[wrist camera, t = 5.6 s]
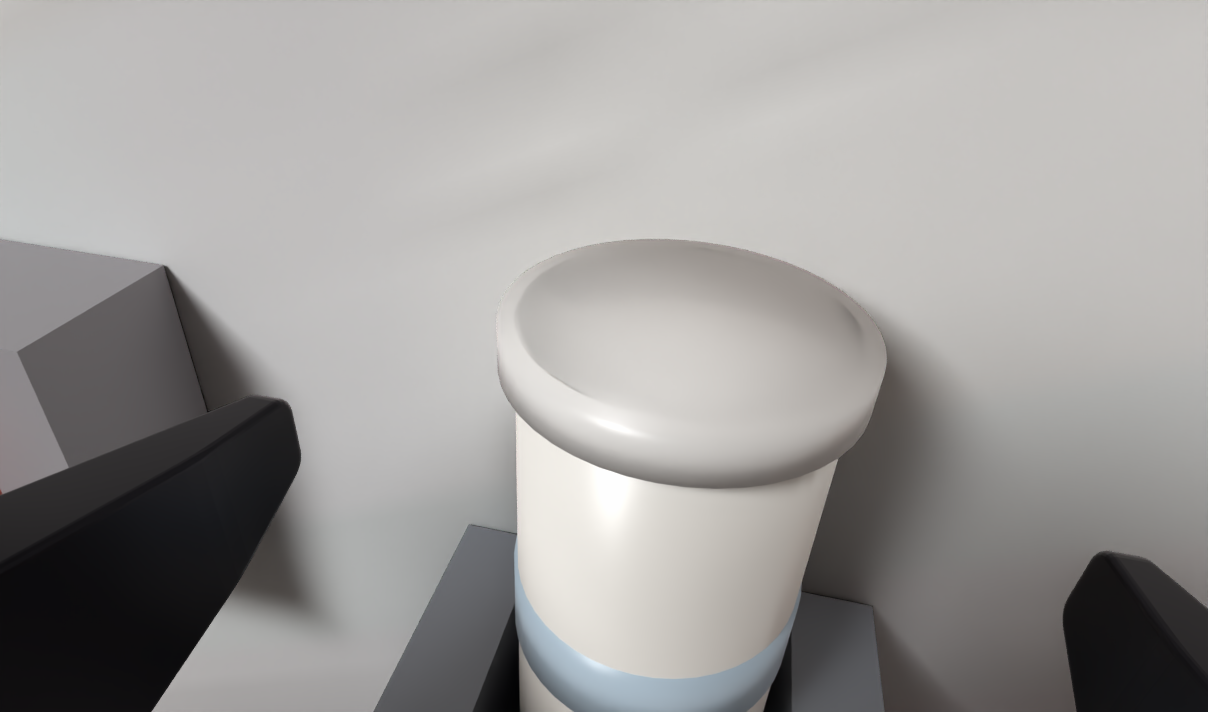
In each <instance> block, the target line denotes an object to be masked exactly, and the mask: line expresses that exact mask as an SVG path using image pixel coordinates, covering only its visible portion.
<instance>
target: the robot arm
mask: <svg viewBox="0 0 1208 712" xmlns="http://www.w3.org/2000/svg"><path fill="white" fill-rule="evenodd" d="M300 462H301V450H300V445H299V441H298V436H297V431H296V427H295V422H294V418H293V413H292V409H291V407H290V405H289V404H288V403H287V402H286V401H284V400H282V399H277V398H272V397H267V396H261V395H251V396H248V397H245V398H243V399H240V400H238V401H235V402H233V403H230V404H228V405H225V406H223V407H220V408H218V409H215V410H213V411H210V412H208V413H205V414H203V415H200V416H198V417H195V418H193V419H190V420H188V421H185V422H182V423H180V424H177V425H175V426H172V427H170V428H167V429H165V430H162V431H160V432H157V433H155V434H152V435H150V436H147V437H145V438H142V439H140V440H137V441H135V442H132V443H130V444H127V445H125V446H122V447H120V448H117V449H115V450H112V451H110V452H107V453H105V454H102V455H100V456H97V457H95V458H92V459H90V460H87V461H85V462H82V463H79V464H77V465H74V466H72V467H69V468H67V469H64V470H62V471H59V472H57V473H54V474H52V475H49V476H47V477H44V478H42V479H39V480H37V481H34V482H32V483H29V484H27V485H24V486H22V487H19V488H17V489H14V490H12V491H9V492H7V493H4V494H2V495H0V712H152V710H153V709H154V707H155V706H156V704H157V703H158V701H159V700H160V698H161V697H162V695H163V694H164V692H165V691H166V689H167V688H168V686H169V685H170V683H171V682H172V680H173V679H174V677H175V676H176V674H177V673H178V671H179V670H180V669H181V667H182V666H183V664H184V663H185V661H186V660H187V658H188V657H189V655H190V654H191V652H192V651H193V649H194V648H195V646H196V645H197V643H198V642H199V640H200V639H201V637H202V636H203V634H204V633H205V631H206V630H207V628H208V627H209V625H210V624H211V622H212V621H213V619H214V618H215V617H216V615H217V614H218V612H219V611H220V609H221V608H222V606H223V605H224V603H225V602H226V600H227V599H228V597H229V596H230V594H231V592H232V591H233V589H234V588H235V586H236V585H237V583H238V581H239V580H240V578H241V576H242V575H243V573H244V571H245V569H246V568H247V566H248V564H249V563H250V561H251V559H252V557H253V555H254V553H255V551H256V549H257V548H258V546H259V544H260V542H261V540H262V538H263V536H264V534H265V533H266V531H267V529H268V527H269V525H270V523H271V521H272V519H273V518H274V516H275V514H276V512H277V510H278V508H279V506H280V504H281V503H282V501H283V499H284V497H285V495H286V493H287V491H288V489H289V488H290V486H291V484H292V482H293V480H294V478H295V476H296V474H297V472H298V470H299V466H300ZM1063 629H1064V635H1065V642H1066V648H1067V654H1068V660H1069V667H1070V673H1071V679H1072V686H1073V692H1074V698H1075V705H1076V711H1077V712H1208V609H1207V608H1206V607H1205V606H1204V605H1203V604H1201V603H1200V602H1199V601H1198V600H1197V599H1195V598H1194V597H1193V596H1192V595H1191V594H1189V593H1188V592H1187V591H1186V590H1185V589H1183V588H1182V587H1181V586H1180V585H1179V584H1178V583H1176V582H1175V581H1174V580H1173V579H1172V578H1170V577H1169V576H1168V575H1167V574H1166V573H1164V572H1163V571H1162V570H1161V569H1160V568H1158V567H1157V566H1156V565H1155V564H1153V563H1152V562H1151V561H1149V560H1147V559H1145V558H1142V557H1139V556H1133V555H1128V554H1123V553H1117V552H1112V551H1102V552H1099V553H1098V554H1096V555H1095V556H1094V557H1093V558H1092V559H1091V561H1090V562H1089V564H1088V566H1087V567H1086V569H1085V571H1084V572H1083V574H1082V576H1081V577H1080V579H1079V581H1078V582H1077V584H1076V586H1075V587H1074V589H1073V591H1072V592H1071V594H1070V596H1069V597H1068V599H1067V601H1066V604H1065V607H1064V611H1063Z"/></svg>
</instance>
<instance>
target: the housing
mask: <svg viewBox="0 0 1208 712" xmlns="http://www.w3.org/2000/svg"><path fill="white" fill-rule="evenodd" d="M516 538H517V534H513V533H508V532H503V531H498V530H493V529H488V528H483V527H478V526H473V525H468V527H467V529H466V531H465V533H464V535H463V537H462V539H461V541H460V543H459V545H458V547H457V549H456V551H455V553H454V555H453V557H452V559H451V560H450V562H449V564H448V566H447V568H446V570H445V572H444V574H443V576H442V578H441V580H440V582H439V584H438V586H437V588H436V590H435V592H434V594H433V596H432V598H431V600H430V602H429V604H428V606H427V608H426V610H425V612H424V614H423V615H422V617H421V619H420V621H419V623H418V625H417V627H416V629H415V631H414V633H413V635H412V637H411V639H410V641H409V643H408V645H407V647H406V649H405V651H404V653H403V655H402V657H401V659H400V661H399V663H398V665H397V667H396V669H395V671H394V672H393V674H392V676H391V678H390V680H389V682H388V684H387V686H386V688H385V690H384V692H383V694H382V696H381V698H380V700H379V702H378V704H377V706H376V708H375V710H374V712H520V689H519V639H518V635H517V629H516V624H515V575H514V550H515V544H516ZM763 712H884V703H883V694H882V686H881V677H880V669H879V660H878V651H877V643H876V634H875V626H874V617H873V609H872V606H869V605H864V604H859V603H854V602H849V601H844V600H839V599H834V598H829V597H824V596H819V595H814V594H809V593H805V592H801V598H800V602H799V606H798V610H797V613H796V616H795V620H794V623H793V626H792V630H791V633H790V636H789V640H788V643H787V646H786V650H785V653H784V656H783V659H782V663H781V666H780V668H779V670H778V673H777V675H776V677H775V679H774V681H773V683H772V684H771V687H770V690H769V693H768V697H767V700H766V704H765V707H764V710H763Z"/></svg>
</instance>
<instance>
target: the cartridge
mask: <svg viewBox="0 0 1208 712" xmlns="http://www.w3.org/2000/svg"><path fill="white" fill-rule="evenodd" d="M496 327H497V361H498V375H499V379H500V383H501V387H502V389H503V391H504V393H505V395H506V397H507V399H508V401H509V403H510V404H511V405H512V407H513V408H514V409H515V411H516V467H517V538H516V544H515V550H514V575H515V624H516V629H517V635H518V639H519V689H520V712H763V710H764V707H765V704H766V700H767V697H768V693H769V690H770V687H771V684H772V683H773V681H774V679H775V677H776V675H777V673H778V670H779V668H780V666H781V663H782V659H783V656H784V653H785V650H786V646H787V643H788V640H789V636H790V633H791V630H792V626H793V623H794V620H795V616H796V613H797V610H798V606H799V602H800V598H801V587H802V579H803V576H804V572H805V569H806V566H807V562H808V559H809V556H810V552H811V549H812V546H813V542H814V539H815V536H816V532H817V529H818V525H819V522H820V519H821V515H822V512H823V509H824V505H825V502H826V499H827V495H828V492H829V488H830V485H831V482H832V478H833V475H834V472H835V468H836V465H837V462H838V458H839V457H841V456H842V455H843V454H844V453H845V452H847V451H848V450H849V449H850V448H852V447H853V446H854V444H855V443H856V442H857V441H858V440H859V438H860V437H861V436H862V435H863V433H864V431H865V429H866V427H867V425H868V423H869V421H870V419H871V416H872V412H873V409H874V406H875V403H876V400H877V397H878V393H879V390H880V387H881V384H882V381H883V378H884V375H885V370H886V364H887V352H886V346H885V343H884V340H883V337H882V334H881V332H880V331H879V329H878V327H877V325H876V324H875V322H874V321H873V320H872V318H871V317H870V316H869V315H868V314H867V312H866V311H865V310H864V309H863V308H862V307H861V306H860V305H859V304H858V303H856V302H855V301H854V300H853V299H852V298H851V297H849V296H848V295H847V294H845V293H844V292H843V291H841V290H840V289H838V288H837V287H835V286H834V285H832V284H830V283H829V282H827V281H825V280H824V279H822V278H820V277H818V276H816V275H814V274H812V273H810V272H808V271H806V270H804V269H801V268H799V267H796V266H794V265H792V264H789V263H787V262H784V261H781V260H778V259H775V258H772V257H769V256H766V255H763V254H759V253H755V252H752V251H748V250H744V249H739V248H734V247H730V246H725V245H718V244H712V243H706V242H697V241H688V240H671V239H639V240H623V241H614V242H606V243H601V244H595V245H589V246H585V247H581V248H577V249H573V250H570V251H567V252H564V253H561V254H558V255H555V256H553V257H551V258H549V259H546V260H544V261H542V262H540V263H538V264H537V265H535V266H533V267H532V268H530V269H528V270H527V271H525V272H524V273H523V274H522V275H520V276H519V277H518V278H517V279H516V280H515V281H514V282H513V283H512V284H511V285H510V286H509V287H508V289H507V290H506V291H505V293H504V295H503V297H502V299H501V300H500V303H499V307H498V310H497V325H496Z"/></svg>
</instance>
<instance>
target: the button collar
mask: <svg viewBox="0 0 1208 712" xmlns="http://www.w3.org/2000/svg"><path fill="white" fill-rule="evenodd" d="M205 413H207V410H206V406H205V403H204V400H203V396H202V393H201V389H200V386H199V383H198V379H197V376H196V373H195V369H194V366H193V363H192V359H191V356H190V353H189V349H188V346H187V343H186V339H185V336H184V333H183V329H182V326H181V323H180V319H179V316H178V312H177V309H176V306H175V302H174V299H173V296H172V292H171V289H170V286H169V282H168V279H167V276H166V272H165V269H164V266H163V265H159V264H153V263H147V262H140V261H134V260H128V259H121V258H115V257H109V256H102V255H96V254H89V253H83V252H77V251H70V250H64V249H58V248H51V247H45V246H39V245H32V244H26V243H20V242H13V241H7V240H1V239H0V490H1V492H2V494H4V493H7V492H9V491H12V490H14V489H17V488H19V487H22V486H24V485H27V484H29V483H32V482H34V481H37V480H39V479H42V478H44V477H47V476H49V475H52V474H54V473H57V472H59V471H62V470H64V469H67V468H69V467H72V466H74V465H77V464H79V463H82V462H85V461H87V460H90V459H92V458H95V457H97V456H100V455H102V454H105V453H107V452H110V451H112V450H115V449H117V448H120V447H122V446H125V445H127V444H130V443H132V442H135V441H137V440H140V439H142V438H145V437H147V436H150V435H152V434H155V433H157V432H160V431H162V430H165V429H167V428H170V427H172V426H175V425H177V424H180V423H182V422H185V421H188V420H190V419H193V418H195V417H198V416H200V415H203V414H205Z"/></svg>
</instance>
